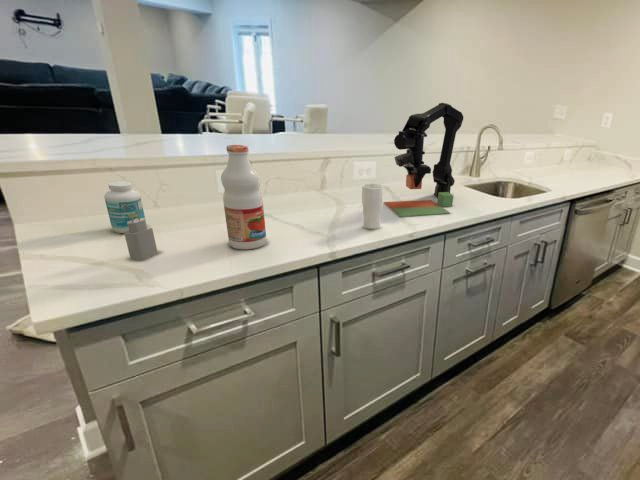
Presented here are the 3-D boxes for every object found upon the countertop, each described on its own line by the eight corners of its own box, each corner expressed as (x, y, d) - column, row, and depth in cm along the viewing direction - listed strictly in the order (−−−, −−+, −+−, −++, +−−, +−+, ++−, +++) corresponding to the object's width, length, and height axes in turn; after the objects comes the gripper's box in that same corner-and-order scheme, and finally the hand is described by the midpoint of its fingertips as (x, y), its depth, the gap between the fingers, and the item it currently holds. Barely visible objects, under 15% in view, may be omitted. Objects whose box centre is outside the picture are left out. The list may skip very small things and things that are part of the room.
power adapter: (128, 259, 95) (117, 213, 90) (147, 250, 100) (137, 207, 95) (141, 261, 95) (130, 215, 90) (159, 252, 100) (149, 209, 95)
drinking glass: (376, 232, 132) (377, 190, 126) (357, 228, 133) (358, 186, 127) (384, 226, 138) (385, 185, 132) (367, 222, 139) (367, 182, 133)
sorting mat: (431, 200, 174) (431, 199, 174) (449, 213, 161) (449, 212, 161) (384, 202, 163) (384, 202, 162) (400, 217, 149) (400, 216, 149)
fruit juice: (235, 236, 114) (223, 141, 104) (270, 238, 117) (262, 145, 106) (223, 249, 106) (209, 147, 95) (261, 250, 108) (251, 151, 98)
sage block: (447, 202, 175) (448, 191, 173) (452, 205, 172) (453, 195, 170) (437, 202, 173) (438, 192, 171) (442, 206, 169) (443, 195, 167)
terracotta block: (416, 185, 166) (417, 174, 164) (421, 188, 162) (422, 177, 160) (405, 186, 163) (406, 174, 161) (410, 189, 159) (411, 177, 157)
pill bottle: (109, 234, 105) (96, 187, 100) (117, 225, 111) (105, 179, 106) (144, 233, 109) (133, 187, 103) (150, 224, 114) (140, 180, 109)
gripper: (389, 142, 159) (387, 179, 165) (406, 152, 145) (404, 192, 151) (413, 143, 165) (411, 179, 171) (433, 152, 151) (429, 191, 157)
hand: (413, 185), depth 162 cm, fingers closed on terracotta block, 5 cm apart
